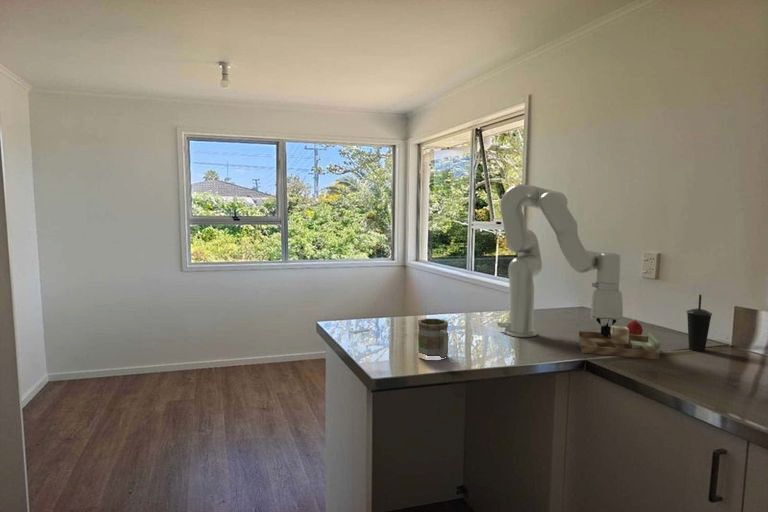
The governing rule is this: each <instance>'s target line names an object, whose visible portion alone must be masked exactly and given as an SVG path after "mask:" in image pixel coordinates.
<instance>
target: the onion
mask: <svg viewBox="0 0 768 512" xmlns="http://www.w3.org/2000/svg"><path fill="white" fill-rule="evenodd" d="M625 327H627V328H628V329H629V334H632V335H643V330H644V329H643V326H642V324H640V323H639V322H638V321H637V319H636V318H633V319H632V321H630V322H628V323H627V325H626V326H625Z"/></svg>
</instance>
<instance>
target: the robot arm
mask: <svg viewBox="0 0 768 512" xmlns="http://www.w3.org/2000/svg"><path fill="white" fill-rule="evenodd" d="M522 207H531V208H534V209H538V210H540V211H541V212H542V214H543V215H544V217H545V218H546V220H547V222H548V223H549V225H550V227H551V229H552V231H553V232H554V233H555V236H556V240H557V242H558V245H559V249H560V250H561V253H562V254H563V256H564V258H565V259H566V261H567V262H568V264H569V266H570V267H571V268H572V270H574V271H575V272H577V273H580V274H583V273H588V272H593V271H596V277H595V279H596V281H595V282H592V283H591V287H593V288H595V289H593V293H592V298H591V304H590V305H591V306H590V316H589V318H590V321H591V320H592V321H594V322H597V323H598V325H600V332H601V334H602V335H603V337H607V338H608V335H610V333H611V328H612V326H614V324H616V323H621V322H623V321H624V319H623V315H624V311H623V310H624V307H623V294H622V291H621V290H620V274H621V255H620V254H619V253H616V252H599V251H592V250H587V249H586V248H585V246H583V244H582V241H581V240H580V237H579V234H578V223H577V220H576V219H575V217H574V216H573V214H572V213H571V211H570V209H569V208H568V199H567V196H566V195H565V194H564V193H563V192H560V191H556V190H551V189H548V188H543V187H539V186H535V185H530V184H519V183H518V184H515V185H513V186H511V187H509V188H508V189H507V190H506V191H505V192H504V194H503V195H502V197H501V200H500V213H501V214H500V215H501V218H502V223H503V229H504V236H505V242H506V247H507V249H508V250H509V251H510V252H511V253H514V254H517V257H514V258H513V259H512V260H511V261H510V262H509V265H508V267H507V268H508V269H507V270H508V271H507V274H508V281H509V283H508V285H509V292H508V293H509V294H508V295H509V299H508V300H509V303H508V306H509V307H508V309H509V311H508V321H505V322H503V321H498V322H497V327H499V328H503V329H504V328H505V329H504V334H506V335H507V336H510V337H517V338H532V337H536V336H537V335H538V331H537V330H536V329H534V306H535V305H534V304H535V285H534V277H536V276H538V275H539V274H540V273H541V272H542V268H543V263H542V262H543V261H542V257H541V251H540V245H539V240H538V237H537V235H536V234H535V232H533V230H532V229H528V228H527V225H526V219H525V216H524V213H523V210H522ZM605 319H606V320H607V322H606V323H605Z"/></svg>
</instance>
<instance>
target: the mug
mask: <svg viewBox="0 0 768 512" xmlns="http://www.w3.org/2000/svg"><path fill="white" fill-rule="evenodd" d="M417 324H418V326H417V327H418V334H417V342H418V344H417V345H418V346H417V347H418V349H417V350H418V351H419V353H422V354H425V355H427V356H440V357H441V358H445V357H448V355H449V340H450V339H449V338H450V337H449V333H448V327H449V323H448V320H445V319H441V318H424V319H419V320H417ZM418 351H417V352H418Z"/></svg>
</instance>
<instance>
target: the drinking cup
mask: <svg viewBox="0 0 768 512" xmlns="http://www.w3.org/2000/svg"><path fill="white" fill-rule="evenodd" d="M686 313H687V332H688V333H687V334H688V349H689V350H691V351H694V352H699V353H700V352H705V351H706V348H707V342H708V335H709V331H710V324H711V318H712V316H713V313H712V312H710V311H708V310H706V309H703V308H702V294H699V295H698V308H691V309H688V310H686Z"/></svg>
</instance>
